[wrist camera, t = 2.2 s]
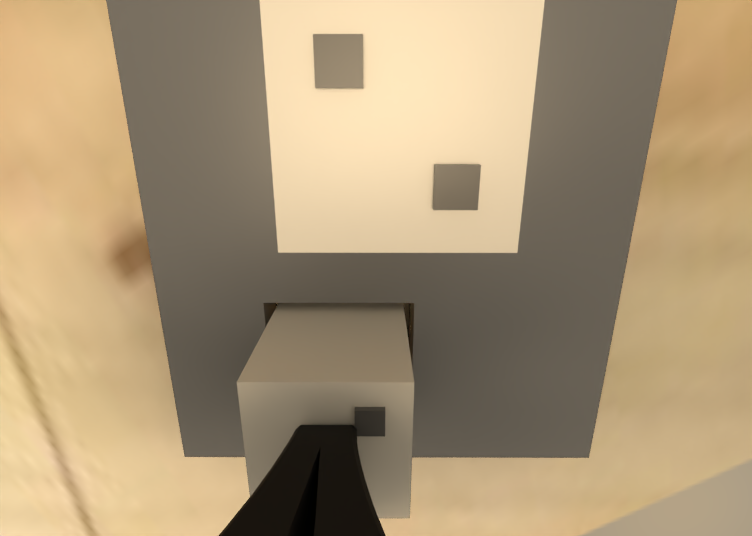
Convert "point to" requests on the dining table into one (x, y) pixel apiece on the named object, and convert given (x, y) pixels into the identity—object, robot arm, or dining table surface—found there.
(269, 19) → the key two
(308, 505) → the robot arm
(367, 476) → the key three
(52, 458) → the dining table surface
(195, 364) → the keypad board
